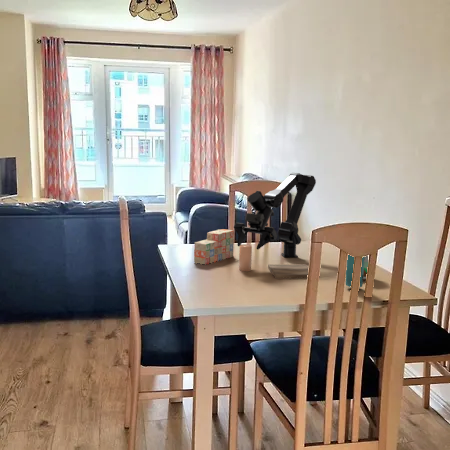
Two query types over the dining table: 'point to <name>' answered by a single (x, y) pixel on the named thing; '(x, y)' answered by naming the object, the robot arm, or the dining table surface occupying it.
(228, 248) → the stack of blocks
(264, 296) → the dining table surface
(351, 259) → the beverage bottle
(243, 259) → the terracotta cylinder
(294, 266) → the tan flat square block
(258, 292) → the dining table surface
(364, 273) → the food container
